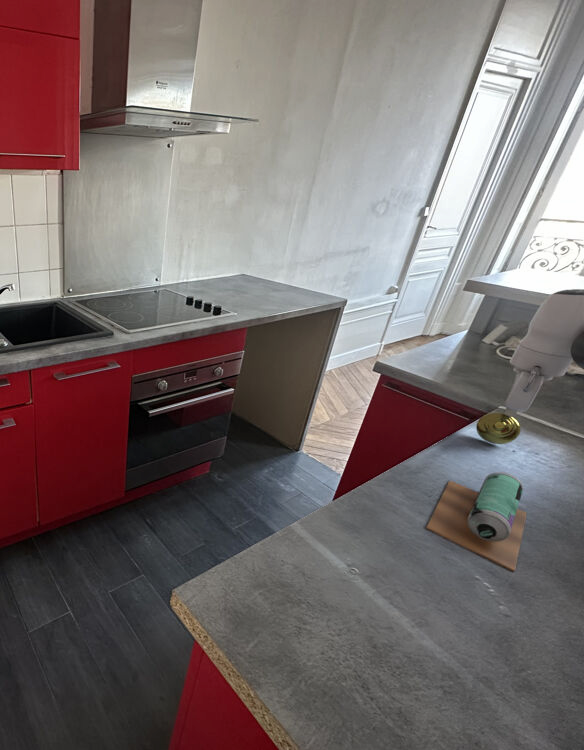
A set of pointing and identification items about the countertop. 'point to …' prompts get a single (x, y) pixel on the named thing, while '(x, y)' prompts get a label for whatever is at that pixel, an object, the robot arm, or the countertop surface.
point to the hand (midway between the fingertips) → (509, 414)
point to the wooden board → (454, 527)
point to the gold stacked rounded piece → (498, 428)
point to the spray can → (495, 507)
